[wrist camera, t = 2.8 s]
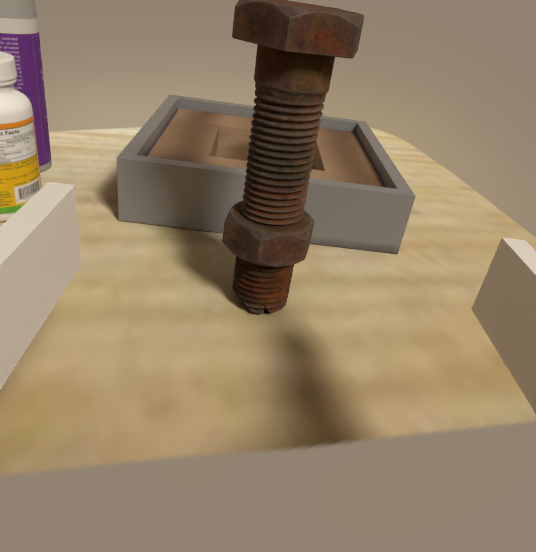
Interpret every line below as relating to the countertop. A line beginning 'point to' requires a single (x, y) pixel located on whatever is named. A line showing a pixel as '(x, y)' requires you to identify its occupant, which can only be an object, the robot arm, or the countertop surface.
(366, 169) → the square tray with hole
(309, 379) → the countertop surface
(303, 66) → the bolt
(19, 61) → the container
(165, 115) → the open box
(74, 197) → the robot arm
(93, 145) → the countertop surface
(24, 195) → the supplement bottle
